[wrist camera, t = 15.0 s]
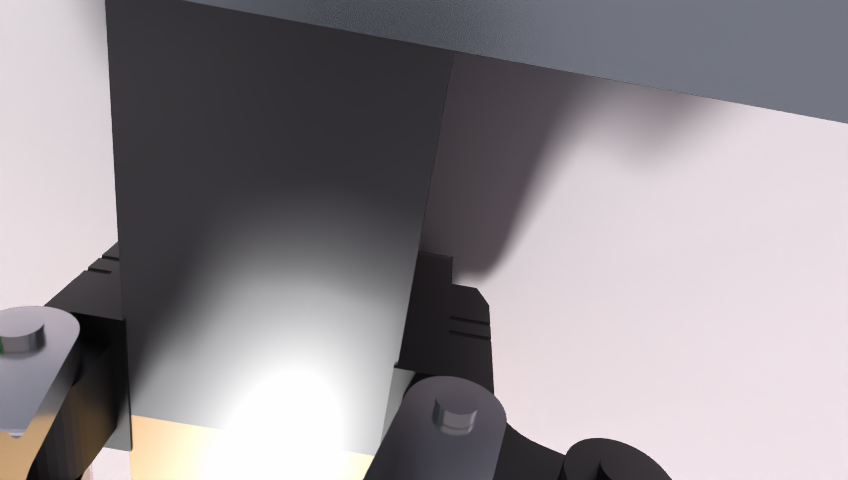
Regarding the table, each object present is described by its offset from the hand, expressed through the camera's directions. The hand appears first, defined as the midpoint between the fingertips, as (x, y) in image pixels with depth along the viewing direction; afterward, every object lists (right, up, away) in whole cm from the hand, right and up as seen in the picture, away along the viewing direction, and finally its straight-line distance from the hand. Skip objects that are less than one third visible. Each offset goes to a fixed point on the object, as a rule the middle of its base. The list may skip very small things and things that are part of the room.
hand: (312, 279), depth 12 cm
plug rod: (+1, +6, -2) cm, 7 cm away
